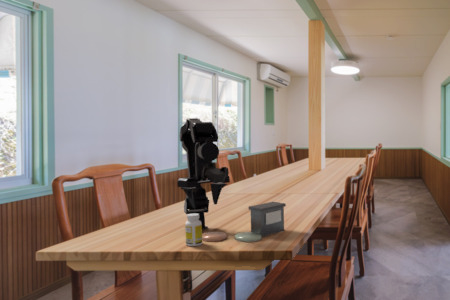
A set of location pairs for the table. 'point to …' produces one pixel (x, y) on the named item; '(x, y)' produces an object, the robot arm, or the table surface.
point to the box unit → (267, 218)
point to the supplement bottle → (193, 230)
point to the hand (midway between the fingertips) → (205, 206)
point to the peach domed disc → (213, 236)
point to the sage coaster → (248, 237)
